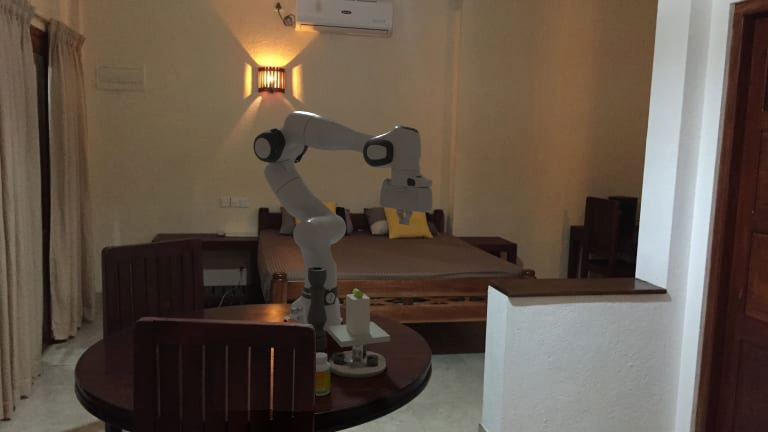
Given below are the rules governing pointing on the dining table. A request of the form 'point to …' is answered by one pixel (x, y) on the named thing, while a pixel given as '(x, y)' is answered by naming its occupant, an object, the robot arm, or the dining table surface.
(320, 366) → the supplement bottle
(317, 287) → the candle holder
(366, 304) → the white stepped fixture
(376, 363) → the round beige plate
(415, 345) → the dining table surface
